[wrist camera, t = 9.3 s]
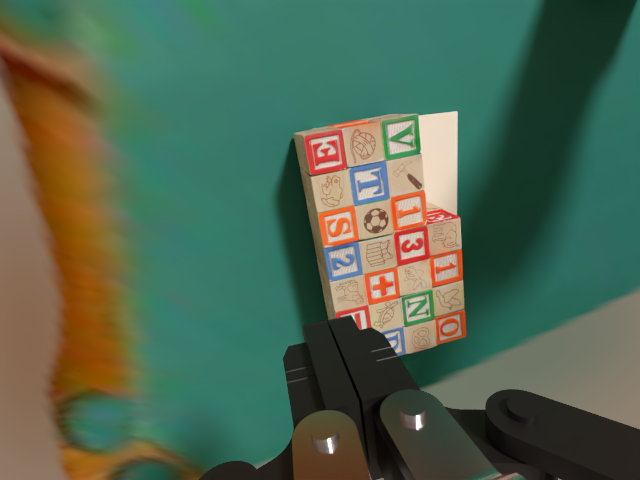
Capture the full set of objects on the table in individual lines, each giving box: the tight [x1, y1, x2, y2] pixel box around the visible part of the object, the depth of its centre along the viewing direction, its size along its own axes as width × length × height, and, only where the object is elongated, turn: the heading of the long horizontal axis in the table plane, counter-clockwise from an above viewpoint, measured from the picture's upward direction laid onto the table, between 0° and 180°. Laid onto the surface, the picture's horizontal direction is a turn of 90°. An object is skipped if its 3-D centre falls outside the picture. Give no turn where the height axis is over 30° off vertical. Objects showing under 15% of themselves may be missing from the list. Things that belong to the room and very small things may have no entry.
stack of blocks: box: [294, 114, 466, 356], centre depth 35 cm, size 21×6×12 cm
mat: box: [314, 111, 457, 215], centre depth 39 cm, size 14×24×1 cm, turn 6°
